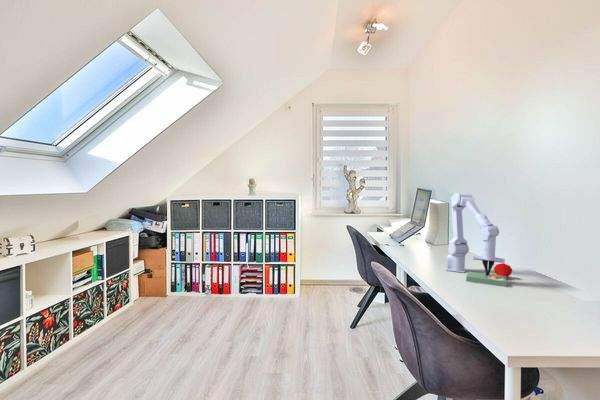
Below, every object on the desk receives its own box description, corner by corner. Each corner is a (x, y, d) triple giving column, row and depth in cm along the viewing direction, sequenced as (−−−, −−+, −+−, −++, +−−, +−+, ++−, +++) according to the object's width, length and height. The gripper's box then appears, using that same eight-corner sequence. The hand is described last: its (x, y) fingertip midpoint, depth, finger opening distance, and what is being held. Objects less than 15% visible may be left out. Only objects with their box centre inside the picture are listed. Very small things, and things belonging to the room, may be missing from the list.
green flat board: (466, 281, 187) (466, 276, 186) (467, 276, 196) (468, 271, 196) (506, 286, 178) (506, 281, 178) (506, 281, 188) (506, 276, 187)
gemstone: (517, 280, 185) (516, 267, 193) (501, 271, 186) (500, 259, 194) (506, 290, 190) (505, 278, 198) (490, 281, 192) (490, 269, 199)
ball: (499, 277, 182) (494, 284, 183) (500, 277, 186) (495, 283, 187) (491, 272, 185) (486, 278, 186) (493, 272, 188) (488, 278, 189)
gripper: (472, 248, 186) (471, 274, 187) (505, 252, 179) (503, 279, 180) (473, 246, 192) (472, 271, 193) (505, 249, 185) (503, 275, 186)
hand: (487, 275), depth 187 cm, fingers closed
